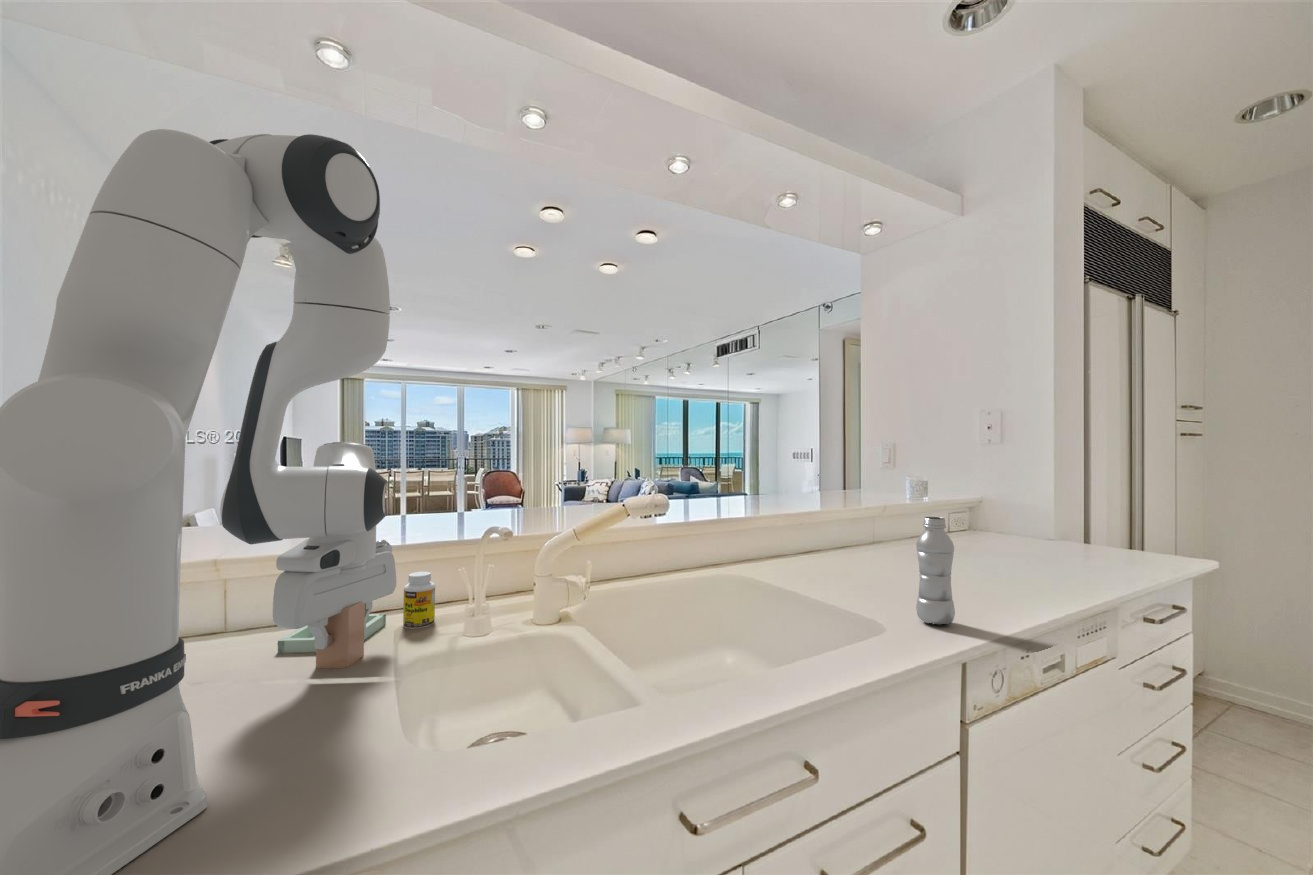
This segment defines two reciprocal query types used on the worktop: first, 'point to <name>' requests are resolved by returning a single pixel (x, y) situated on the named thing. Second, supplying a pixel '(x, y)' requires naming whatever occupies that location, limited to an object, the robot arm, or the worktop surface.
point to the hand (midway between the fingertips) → (341, 639)
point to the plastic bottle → (935, 573)
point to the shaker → (344, 638)
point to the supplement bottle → (419, 601)
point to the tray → (305, 640)
